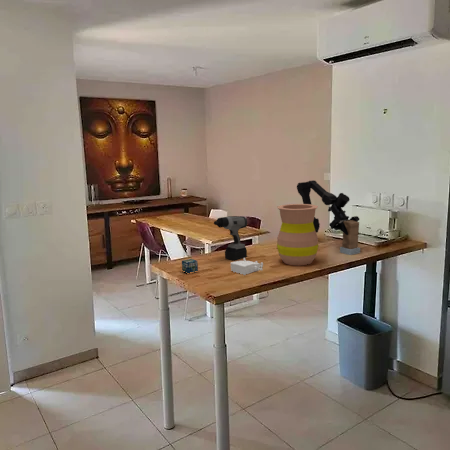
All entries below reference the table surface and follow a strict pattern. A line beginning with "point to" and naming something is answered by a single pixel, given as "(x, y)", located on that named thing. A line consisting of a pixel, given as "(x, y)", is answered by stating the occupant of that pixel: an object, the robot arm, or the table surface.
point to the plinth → (349, 251)
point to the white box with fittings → (245, 266)
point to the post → (351, 235)
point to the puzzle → (189, 265)
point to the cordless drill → (233, 224)
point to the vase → (297, 234)
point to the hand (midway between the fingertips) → (352, 234)
